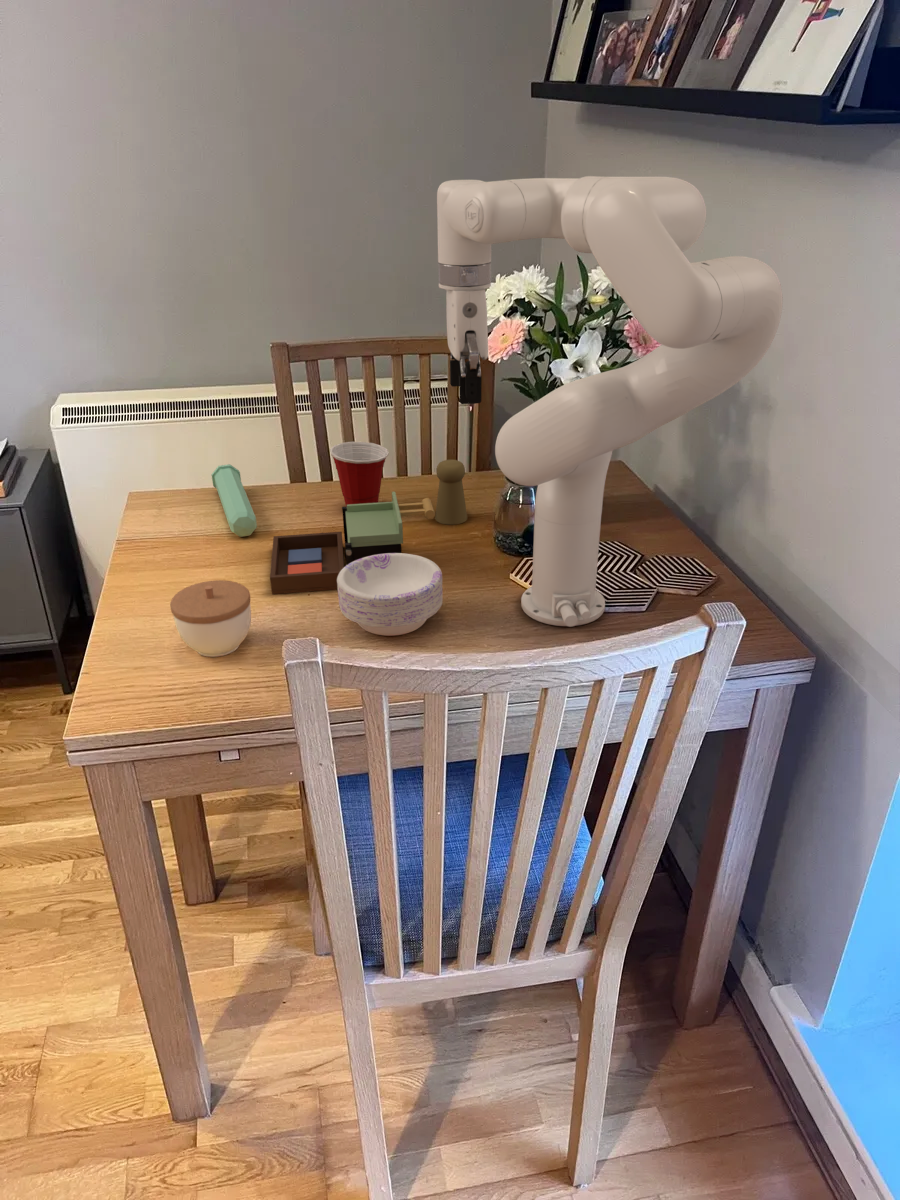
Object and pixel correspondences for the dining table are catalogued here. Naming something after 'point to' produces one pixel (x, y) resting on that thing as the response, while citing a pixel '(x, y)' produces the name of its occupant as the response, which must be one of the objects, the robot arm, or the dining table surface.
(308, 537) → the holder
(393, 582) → the paper bowls
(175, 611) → the trinket box
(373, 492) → the plastic cup
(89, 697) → the dining table surface
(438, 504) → the pepper mill
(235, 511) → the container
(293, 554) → the blue sachet
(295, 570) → the coral sachet
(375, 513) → the green handled tray
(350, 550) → the stand
